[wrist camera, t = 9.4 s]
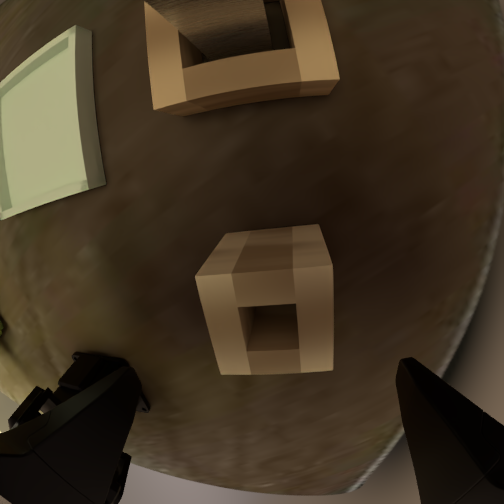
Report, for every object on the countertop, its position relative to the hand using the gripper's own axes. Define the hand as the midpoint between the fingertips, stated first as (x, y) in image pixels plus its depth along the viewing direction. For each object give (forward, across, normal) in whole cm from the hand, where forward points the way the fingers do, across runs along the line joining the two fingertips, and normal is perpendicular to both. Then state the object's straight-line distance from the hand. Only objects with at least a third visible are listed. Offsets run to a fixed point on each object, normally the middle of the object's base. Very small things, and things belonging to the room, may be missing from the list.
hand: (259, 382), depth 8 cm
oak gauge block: (+8, 0, -13) cm, 16 cm away
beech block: (+8, 0, 0) cm, 8 cm away
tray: (+8, +15, -12) cm, 21 cm away
